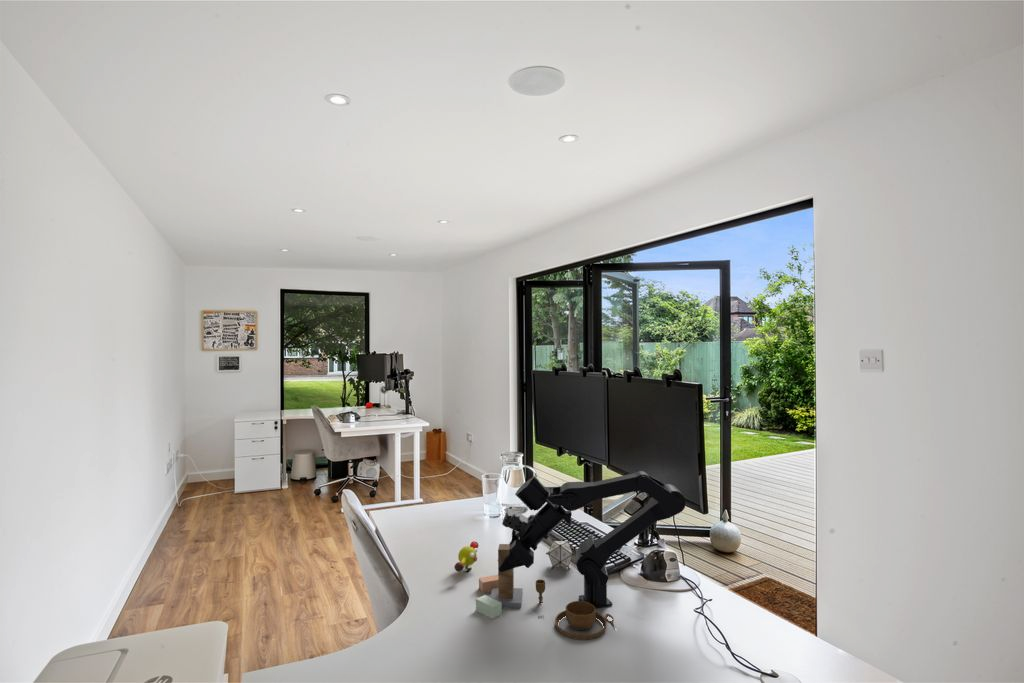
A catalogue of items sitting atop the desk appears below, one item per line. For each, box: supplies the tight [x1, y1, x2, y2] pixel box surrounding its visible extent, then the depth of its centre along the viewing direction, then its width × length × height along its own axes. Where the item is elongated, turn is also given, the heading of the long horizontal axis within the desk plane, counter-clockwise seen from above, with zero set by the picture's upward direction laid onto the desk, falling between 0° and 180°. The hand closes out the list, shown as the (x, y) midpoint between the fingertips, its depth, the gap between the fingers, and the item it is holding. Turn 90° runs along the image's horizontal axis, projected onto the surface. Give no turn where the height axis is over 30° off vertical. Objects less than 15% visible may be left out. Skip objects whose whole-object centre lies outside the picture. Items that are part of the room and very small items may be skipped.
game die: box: [545, 538, 576, 571], centre depth 162 cm, size 9×8×10 cm
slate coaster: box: [489, 587, 524, 609], centre depth 142 cm, size 8×8×1 cm
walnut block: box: [497, 543, 515, 599], centre depth 142 cm, size 4×4×12 cm
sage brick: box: [475, 594, 503, 619], centre depth 136 cm, size 6×3×3 cm, turn 46°
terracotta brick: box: [478, 574, 498, 594], centre depth 148 cm, size 6×3×3 cm, turn 112°
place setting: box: [535, 579, 615, 640], centre depth 133 cm, size 18×20×6 cm
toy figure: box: [454, 541, 479, 573], centre depth 160 cm, size 18×6×7 cm, turn 168°
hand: (500, 564), depth 142 cm, fingers open, 6 cm apart
